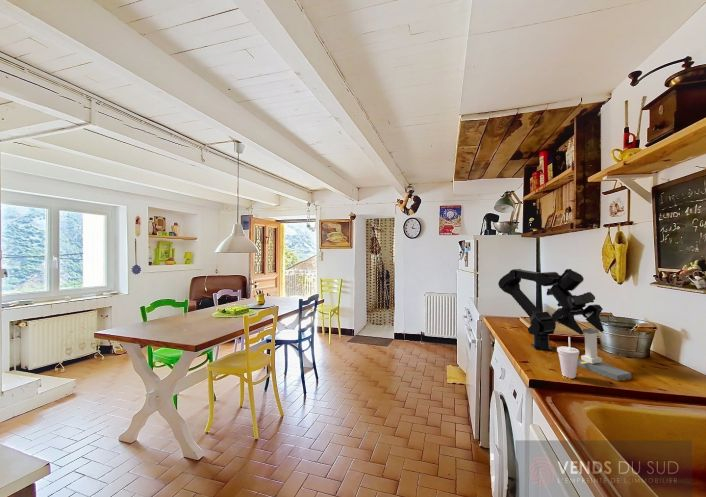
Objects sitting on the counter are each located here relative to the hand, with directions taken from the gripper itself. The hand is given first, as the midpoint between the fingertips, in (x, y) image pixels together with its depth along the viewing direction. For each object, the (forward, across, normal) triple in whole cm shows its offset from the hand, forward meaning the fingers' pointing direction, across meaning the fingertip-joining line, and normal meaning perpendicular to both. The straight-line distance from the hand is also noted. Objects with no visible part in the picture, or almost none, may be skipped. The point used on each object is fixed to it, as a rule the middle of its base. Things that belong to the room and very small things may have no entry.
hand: (592, 332), depth 110 cm
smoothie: (+12, -14, +7) cm, 20 cm away
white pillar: (+7, 0, +8) cm, 11 cm away
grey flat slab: (+11, 0, +7) cm, 13 cm away
